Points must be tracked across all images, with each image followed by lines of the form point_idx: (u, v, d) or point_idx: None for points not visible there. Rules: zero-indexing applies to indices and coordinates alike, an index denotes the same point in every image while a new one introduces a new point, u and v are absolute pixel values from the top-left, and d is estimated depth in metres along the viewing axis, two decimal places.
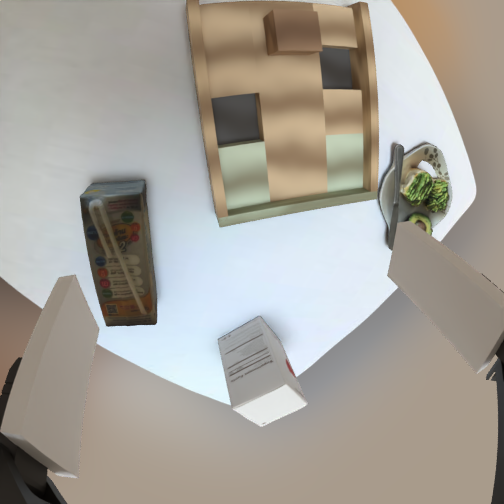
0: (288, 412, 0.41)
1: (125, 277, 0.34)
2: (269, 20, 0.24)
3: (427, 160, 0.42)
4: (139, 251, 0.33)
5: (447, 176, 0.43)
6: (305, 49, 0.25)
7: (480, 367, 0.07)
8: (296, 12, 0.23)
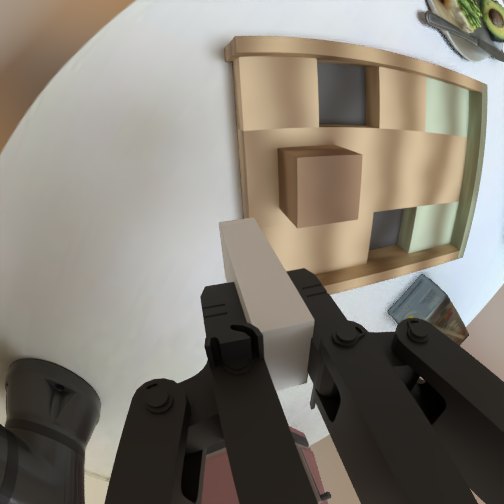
0: None
1: (450, 335, 0.37)
2: None
3: None
4: (454, 317, 0.35)
5: None
6: (359, 181, 0.20)
7: (284, 382, 0.08)
8: (302, 193, 0.19)
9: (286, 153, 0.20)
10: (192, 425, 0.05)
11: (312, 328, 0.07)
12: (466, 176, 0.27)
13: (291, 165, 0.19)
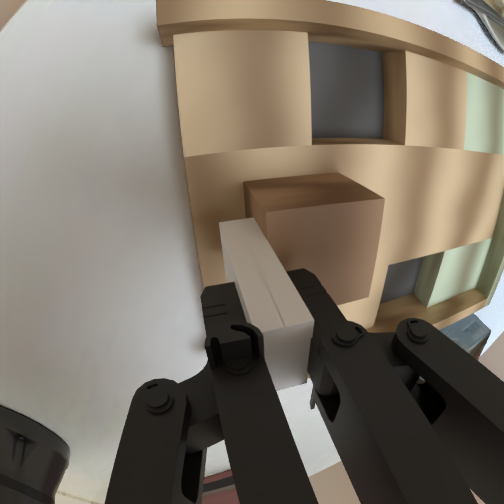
0: None
1: None
2: None
3: None
4: None
5: None
6: (376, 242, 0.12)
7: (284, 382, 0.08)
8: None
9: (253, 196, 0.12)
10: (192, 425, 0.05)
11: (312, 328, 0.07)
12: None
13: (259, 220, 0.11)
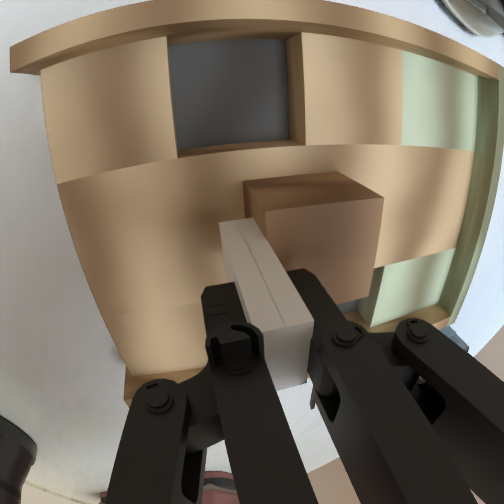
0: None
1: None
2: None
3: None
4: None
5: None
6: (376, 241, 0.12)
7: (284, 382, 0.08)
8: None
9: (252, 195, 0.12)
10: (192, 425, 0.05)
11: (312, 328, 0.07)
12: (470, 212, 0.17)
13: (258, 219, 0.11)
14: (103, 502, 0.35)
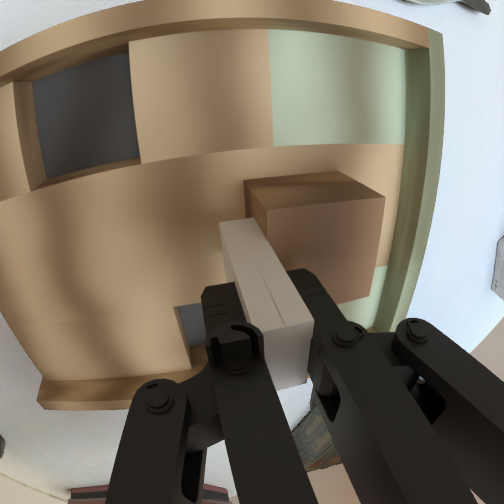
0: None
1: None
2: None
3: None
4: None
5: None
6: (377, 241, 0.12)
7: (284, 382, 0.08)
8: None
9: (253, 194, 0.12)
10: (192, 425, 0.05)
11: (312, 328, 0.07)
12: (401, 221, 0.16)
13: (259, 218, 0.11)
14: (72, 498, 0.34)
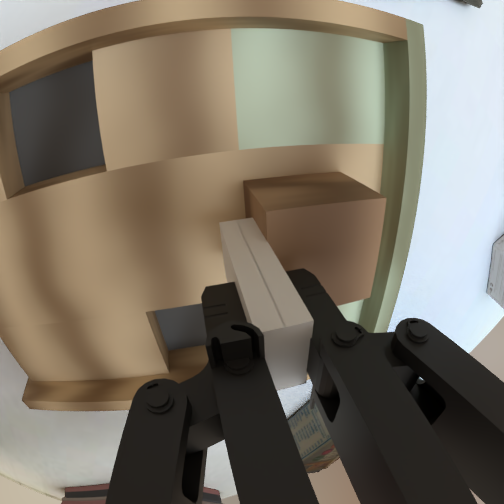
0: None
1: None
2: None
3: None
4: None
5: None
6: (378, 242, 0.12)
7: (283, 382, 0.08)
8: None
9: (252, 195, 0.12)
10: (193, 425, 0.05)
11: (311, 328, 0.07)
12: None
13: (259, 219, 0.11)
14: (66, 497, 0.34)
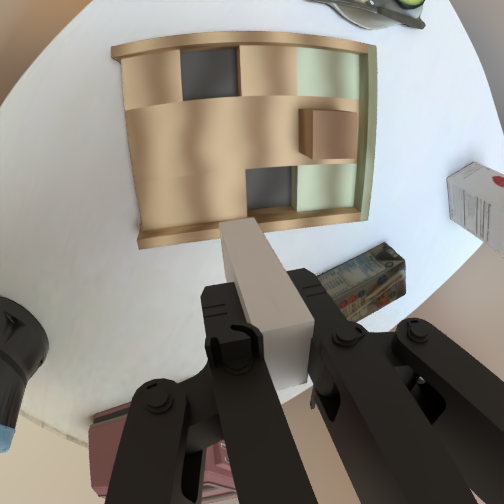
0: None
1: (350, 314, 0.41)
2: None
3: None
4: (370, 312, 0.42)
5: None
6: (355, 131, 0.27)
7: (284, 382, 0.08)
8: (316, 134, 0.27)
9: (305, 110, 0.27)
10: (192, 425, 0.05)
11: (312, 328, 0.07)
12: (360, 137, 0.31)
13: (308, 117, 0.27)
14: (96, 422, 0.49)
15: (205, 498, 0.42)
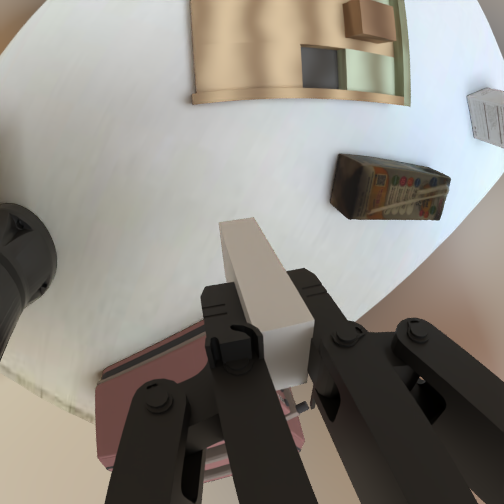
0: None
1: (402, 201, 0.36)
2: (361, 36, 0.26)
3: None
4: (413, 215, 0.39)
5: None
6: (393, 19, 0.23)
7: (284, 382, 0.08)
8: (363, 14, 0.23)
9: (350, 1, 0.23)
10: (192, 425, 0.05)
11: (312, 328, 0.07)
12: None
13: (354, 4, 0.23)
14: (105, 377, 0.45)
15: None
